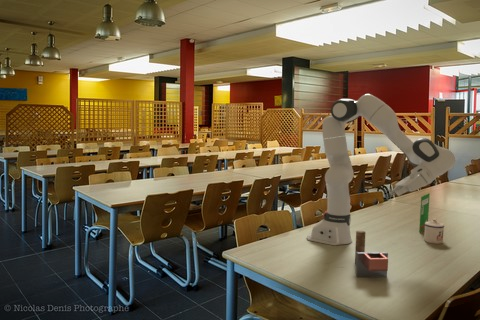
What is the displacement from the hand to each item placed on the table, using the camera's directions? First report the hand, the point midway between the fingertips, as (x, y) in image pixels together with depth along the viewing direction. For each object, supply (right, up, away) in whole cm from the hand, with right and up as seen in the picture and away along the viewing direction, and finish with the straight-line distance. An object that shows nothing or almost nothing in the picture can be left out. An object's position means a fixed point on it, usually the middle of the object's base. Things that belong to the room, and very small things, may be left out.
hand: (394, 194), depth 173 cm
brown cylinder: (-17, -29, -5) cm, 34 cm away
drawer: (-16, -31, -21) cm, 41 cm away
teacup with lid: (+32, -27, +29) cm, 51 cm away
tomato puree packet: (+36, -25, +49) cm, 66 cm away
